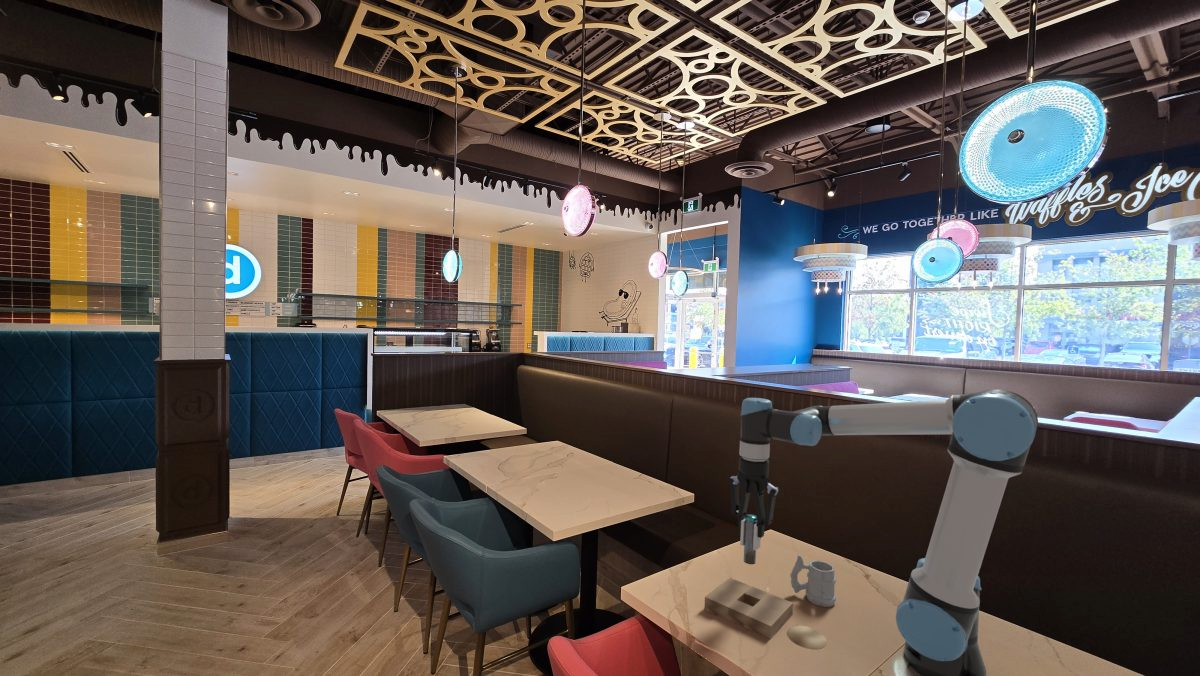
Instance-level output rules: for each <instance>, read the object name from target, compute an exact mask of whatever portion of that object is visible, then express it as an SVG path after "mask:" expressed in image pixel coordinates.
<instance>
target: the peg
mask: <svg viewBox="0 0 1200 676" xmlns="http://www.w3.org/2000/svg"><path fill="white" fill-rule="evenodd" d="M755 524H757V517H756V514H749V513H748V514H746V516H745V539H744V545H743V563H745V564H747V565H755V564H756V561H757V560H756V559H757V557H756V556H757V550H753V538H754V525H755Z"/></svg>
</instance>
